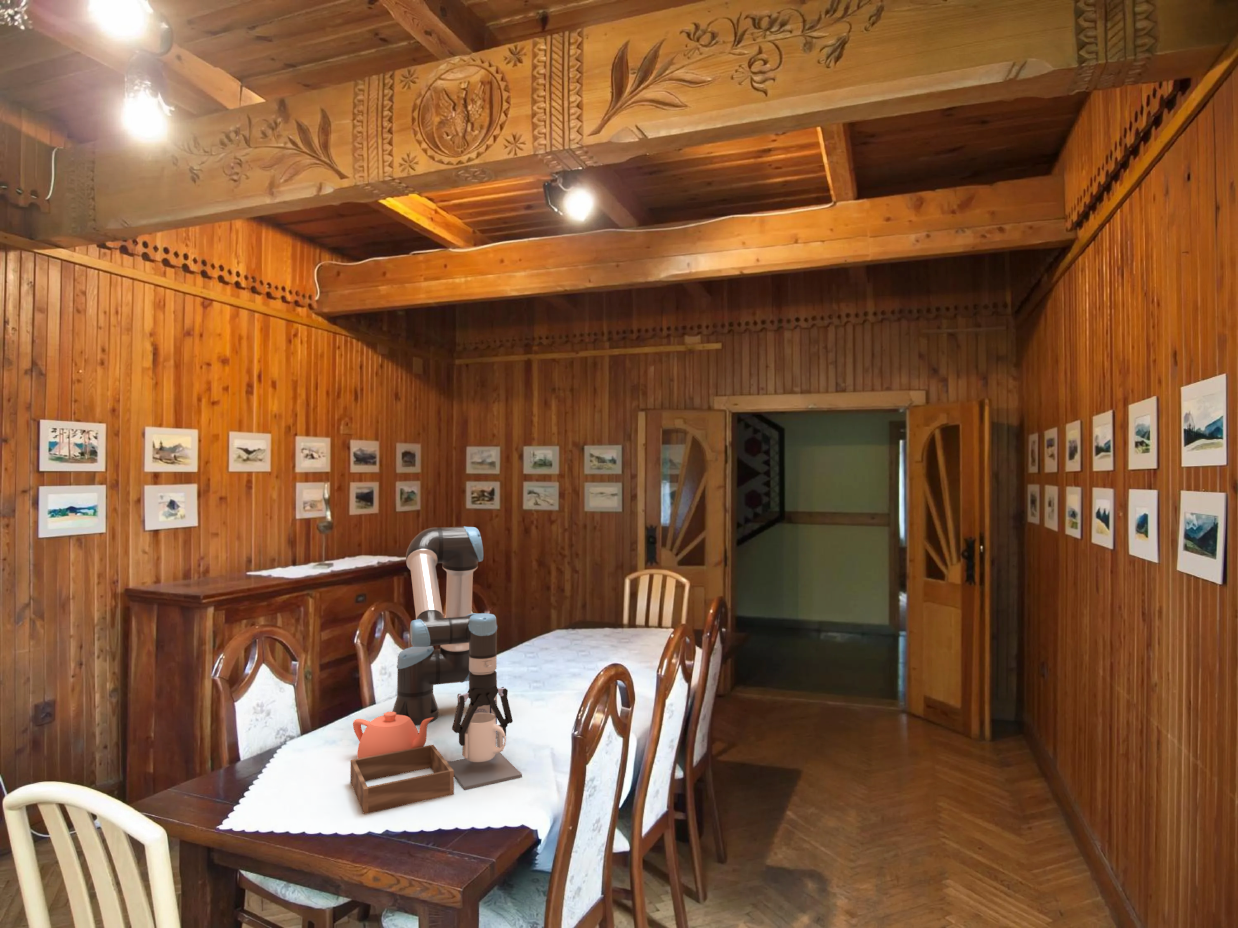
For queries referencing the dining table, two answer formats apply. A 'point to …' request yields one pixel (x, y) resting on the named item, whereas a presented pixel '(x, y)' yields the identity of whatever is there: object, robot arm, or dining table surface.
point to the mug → (483, 737)
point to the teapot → (389, 734)
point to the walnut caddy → (401, 789)
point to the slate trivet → (483, 771)
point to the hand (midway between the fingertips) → (482, 752)
